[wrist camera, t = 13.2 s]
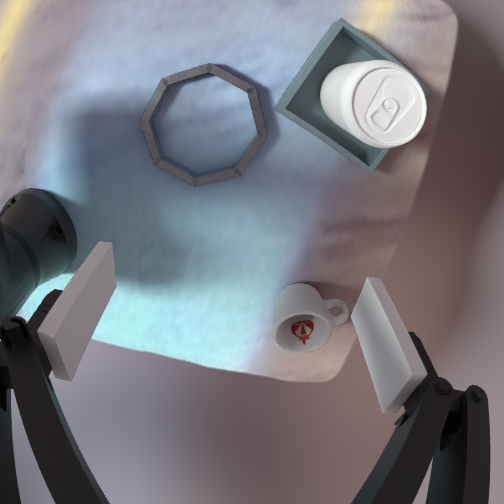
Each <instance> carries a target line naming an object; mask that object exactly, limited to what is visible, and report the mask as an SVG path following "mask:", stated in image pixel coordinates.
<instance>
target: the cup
mask: <svg viewBox="0 0 504 504" xmlns="http://www.w3.org/2000/svg"><path fill="white" fill-rule="evenodd" d="M332 307H338V308H340V309H341V310H342V311H343V313H342V314H341V315H338V316H335V315H332V314H331V313H330V312H329V309H330V308H332ZM348 316H349V311H348V307H347V305H346V304H345V302H343V301H342V300H340V299H329V300H323V299H322V298H321V296H320V295H319V293H318V292H317V290H316V289H315V288H314V287H312V286H310V285H308V284H304V283H295V284H291V285H289V286H287V287H285V288H284V289H283V290H282V291H281V292H280V294H279V295H278V298H277V301H276V308H275V317H274V325H273V338H274V341H275V342H276V344H277V345H278V346H279V347H280V348H282V349H283V350H285V351H288V352H292V353H308V352H311V351H314V350H317V349H319V348H320V347H322V346H323V345H324V344H325V343H326V342H327V341H328V340H329V338H330V336H331V333H332V327H334V326H337V325H340V324H343V323H344V322H346V321H347V319H348Z"/></svg>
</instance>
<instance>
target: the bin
mask: <svg viewBox="0 0 504 504" xmlns="http://www.w3.org/2000/svg"><path fill="white" fill-rule="evenodd" d="M372 60H386V61H390V62H393V63H396V64H398V65H400V66H402V67H403V68H405V69H406V70H407V71H408V72H410V71H409V70H408V69H407V68H406V67H405V66H403V65H402V64H401V63H400V62H399V61H398V60H396V59H395V58H394V57H393V56H392V55H390V54H389V53H388V52H387V51H385V50H384V49H383V48H382V47H380V46H379V45H378V44H377V43H375V42H374V41H373V40H371V39H370V38H369V37H367V36H366V35H365V34H363V33H362V32H361V31H359V30H358V29H356V28H355V27H354V26H352V25H351V24H349V23H348V22H346V21H345V20H343V19H342V18H340V19H339V20H338V21H336V22H335V23H333V25H332V26H331V27H330V29H329V30H328V31H327V33H326V34H325V35H324V37H323V38H322V40H321V41H320V42H319V44H318V45H317V47H316V48H315V49H314V51H313V52H312V53H311V55H310V56H309V58H308V59H307V61H306V62H305V63H304V65H303V66H302V68H301V69H300V71H299V72H298V73H297V75H296V76H295V78H294V79H293V81H292V82H291V84H290V85H289V86H288V88H287V89H286V91H285V92H284V94H283V95H282V97H281V98H280V100H279V101H278V103H277V104H276V106H275V107H274V108H275V110H276V111H278V112H279V113H281V114H282V115H284V116H286V117H287V118H289V119H290V120H292V121H294V122H295V123H297V124H298V125H300V126H301V127H303V128H304V129H306V130H307V131H309V132H310V133H312V134H313V135H315V136H316V137H318V138H319V139H321V140H322V141H324V142H325V143H327V144H328V145H330V146H331V147H332V148H334V149H335V150H337V151H338V152H340V153H341V154H342V155H344V156H345V157H347V158H348V159H349V160H351V161H352V162H353V163H355V164H356V165H358V166H359V167H360V168H362V169H363V170H364V171H366V172H367V173H368V174H369V175H371V173H372V172H373V171H374V169H375V168H376V167H377V165H378V164H379V163H380V161H381V160H382V159H383V157H384V156H385V155H386V153H387V152H388V151H389V149H390V148H377V147H373V146H370V145H368V144H366V143H364V142H362V141H361V140H359V139H358V138H356V137H355V136H353V135H352V134H350V133H349V132H347V131H346V130H344V129H343V128H341V127H340V126H338V125H336V124H335V123H334V122H333V121H331V120H330V118H329V117H328V116H327V115H326V113H325V111H324V109H323V107H322V104H321V99H320V91H321V86H322V83H323V81H324V79H325V77H326V76H327V75H328V73H329V72H330V71H332V70H333V69H334V68H336V67H338V66H341V65H344V64H350V63H357V62H364V61H372ZM410 73H411V72H410ZM411 74H412V73H411ZM412 76H413V77H414V78H415V79H416V80H417V81H418V83H419V84H420V86H421V88H422V90H423V92H424V95H425V99H426V97H427V96H428V94H429V93H430V92H431V90H430V89H429V88H428V87H426V86H425V85H424V84H423V83H422V82H421V81H420V80H419V79H418V78H417V77H416V76H415V75H414V74H412Z"/></svg>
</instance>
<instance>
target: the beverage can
mask: <svg viewBox="0 0 504 504" xmlns="http://www.w3.org/2000/svg"><path fill="white" fill-rule="evenodd" d="M320 99H321V104H322V107H323V109H324V111H325V113H326V115H327V116H328V117H329V118H330V120H331V121H333V122H334V123H335V124H336V125H338V126H340V127H341V128H343V129H344V130H346V131H347V132H349V133H350V134H352V135H353V136H355V137H356V138H358V139H359V140H361V141H362V142H364V143H366V144H368V145H370V146H373V147H377V148H393V147H397V146H400V145H402V144H405V143H407V142H408V141H410V140H412V139H413V138H414V137H415V136H416V135H417V134H418V133H419V131H420V130H421V128H422V126H423V124H424V121H425V118H426V111H427V105H426V99H425V95H424V92H423V90H422V88H421V86H420V84H419V83H418V81H417V80H416V79H415V78H414V77H413V76H412V74H411V73H410V72H408V71H407V70H406V69H405V68H403V67H402V66H400V65H398V64H396V63H393V62H390V61H386V60H372V61H364V62H357V63H350V64H344V65H341V66H338V67H336V68H334V69H333V70H332V71H330V72H329V73H328V75H327V76H326V77H325V79H324V81H323V83H322V86H321V91H320Z"/></svg>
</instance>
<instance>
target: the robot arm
mask: <svg viewBox="0 0 504 504" xmlns="http://www.w3.org/2000/svg"><path fill="white" fill-rule="evenodd" d="M75 253H76V235H75V231H74V227H73V224H72V222H71V220H70V218H69V216H68V214H67V213H66V211H65V210H64V208H63V207H62V206H61V205H60V203H59V202H58V201H57V200H56V199H54V198H53V197H52V196H51V195H49V194H47V193H46V192H43V191H41V190H38V189H25V190H22V191H20V192H19V193H17V194H16V195H14V196H13V197H11V198H10V199H9V200H8V201H7V202H6V204H5V205H4V207H3V208H2V210H1V212H0V339H1V341H0V504H21V501H20V495H19V489H18V483H17V477H16V469H15V460H14V450H13V440H12V422H11V389H13V390H14V394H15V397H16V401H17V404H18V408H19V411H20V415H21V418H22V421H23V425H24V428H25V431H26V434H27V436H28V440H29V442H30V445H31V448H32V450H33V453H34V456H35V458H36V461H37V463H38V466H39V468H40V471H41V473H42V475H43V478H44V480H45V482H46V484H47V487H48V489H49V491H50V493H51V495H52V497H53V499H54V501H55V503H56V504H110V503H109V501H108V500H107V498H106V497H105V495H104V493H103V492H102V490H101V488H100V487H99V485H98V483H97V481H96V480H95V478H94V476H93V474H92V472H91V471H90V469H89V467H88V465H87V463H86V461H85V459H84V457H83V455H82V453H81V451H80V449H79V447H78V445H77V443H76V441H75V439H74V437H73V435H72V432H71V430H70V428H69V426H68V423H67V421H66V419H65V417H64V414H63V412H62V409H61V407H60V404H59V402H58V399H57V397H56V394H55V392H54V389H53V386H52V384H51V381H50V378H49V374H50V372H51V370H53V372H54V375H55V377H56V378H59V379H62V380H66V381H69V382H71V381H72V379H73V377H74V374H75V372H76V370H77V368H78V365H79V363H80V361H81V359H82V356H83V354H84V352H85V350H86V348H87V345H88V343H89V341H90V339H91V337H92V335H93V333H94V330H95V328H96V326H97V324H98V322H99V320H100V318H101V316H102V314H103V312H104V310H105V308H106V306H107V304H108V302H109V300H110V298H111V296H112V294H113V292H114V290H115V289H116V277H115V266H114V252H113V243H111V242H104V241H99V242H98V243H97V245H96V246H95V247H94V249H93V250H92V251H91V253H90V254H89V255H88V257H87V258H86V259H85V261H84V262H83V263H82V265H81V266H80V268H79V269H78V270H77V272H76V273H75V274H74V276H73V277H72V279H71V280H70V282H69V283H68V284H67V286H66V287H65V289H64V290H63V291H62V290H57V289H54V290H53V291H51V292H50V293H49V294H47V295H46V296H45V298H44V299H43V301H42V302H41V304H40V305H39V306H38V308H37V311H35V312H34V314H33V315H32V317H31V318H30V320H29V321H28V323H26V321H25V319H23V318H22V317H18V316H15V315H16V314H17V313H18V311H19V310H20V309H21V307H22V306H23V305H24V303H25V302H26V301H27V299H28V298H29V297H30V295H31V294H32V293H33V291H34V290H35V289H36V288H37V287H38V286H39V285H41V284H43V283H45V282H47V281H49V280H51V279H53V278H55V277H57V276H59V275H60V274H62V273H63V272H64V271H65V270H66V268H67V267H68V266H69V265H70V264H71V262H72V261H73V259H74V256H75ZM351 319H352V321H353V324H354V327H355V330H356V333H357V336H358V338H359V341H360V344H361V347H362V350H363V353H364V356H365V359H366V362H367V365H368V368H369V371H370V374H371V377H372V380H373V384H374V387H375V390H376V393H377V397H378V400H379V403H380V406H381V410H382V413H394V412H397V411H398V410H399V409H400V408H401V407H402V406H403V405H404V408H405V412H404V413H403V415H402V416H401V417H400V418H399V419H398V420H397V421H396V422H395V425H397V426H396V428H395V430H394V432H393V434H392V436H391V438H390V440H389V442H388V444H387V445H386V447H385V449H384V451H383V453H382V454H381V456H380V458H379V460H378V461H377V463H376V465H375V467H374V468H373V470H372V472H371V473H370V475H369V477H368V478H367V480H366V482H365V483H364V484H363V486H362V488H361V489H360V491H359V492H358V494H357V495H356V497H355V498H354V500H353V501H352V503H351V504H412V503H413V501H414V499H415V497H416V495H417V492H418V490H419V488H420V486H421V484H422V481H423V479H424V477H425V475H426V472H427V470H428V467H429V464H430V462H431V460H432V458H433V462H432V469H431V476H430V482H429V488H428V493H427V499H426V504H488V500H489V485H490V424H489V409H488V399H487V395H486V393H485V392H484V390H483V389H481V388H480V387H478V386H476V385H472V386H469V387H468V388H467V390H466V391H465V392H464V391H459V390H455V389H453V387H452V385H451V384H450V383H449V382H448V381H447V380H446V379H444V378H441V377H438V375H437V373H436V371H435V369H434V367H433V365H432V363H431V361H430V358H429V356H428V355H427V353H426V351H425V349H424V346H423V344H422V342H421V340H420V339H419V338H418V337H417V336H416V335H415V333H413V332H407V329H406V327H405V326H404V323H403V321H402V319H401V317H400V315H399V313H398V312H397V310H396V308H395V306H394V304H393V302H392V300H391V299H390V296H389V295H388V292H387V291H386V289H385V287H384V285H383V283H382V281H381V280H380V278H375V277H367V279H366V281H365V284H364V286H363V288H362V291H361V293H360V296H359V298H358V300H357V303H356V305H355V307H354V309H353V312H352V314H351Z"/></svg>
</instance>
